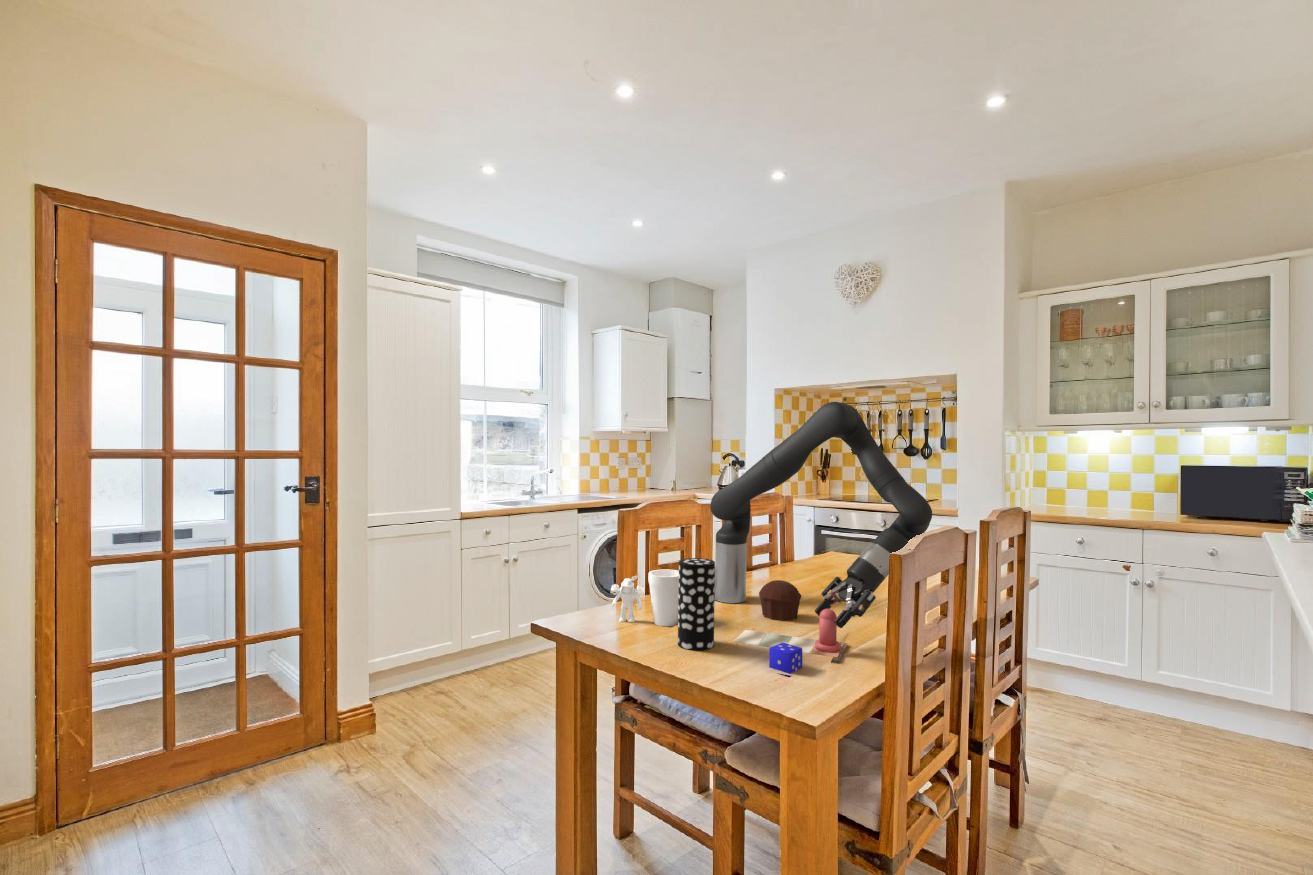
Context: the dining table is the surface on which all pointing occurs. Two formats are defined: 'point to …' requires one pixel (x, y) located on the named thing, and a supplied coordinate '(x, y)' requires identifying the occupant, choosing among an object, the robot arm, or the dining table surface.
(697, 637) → the white-spotted black cylinder
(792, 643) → the game track
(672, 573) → the foam cup
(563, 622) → the dining table surface
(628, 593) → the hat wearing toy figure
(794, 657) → the die
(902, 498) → the robot arm
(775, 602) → the muffin
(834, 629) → the pawn
